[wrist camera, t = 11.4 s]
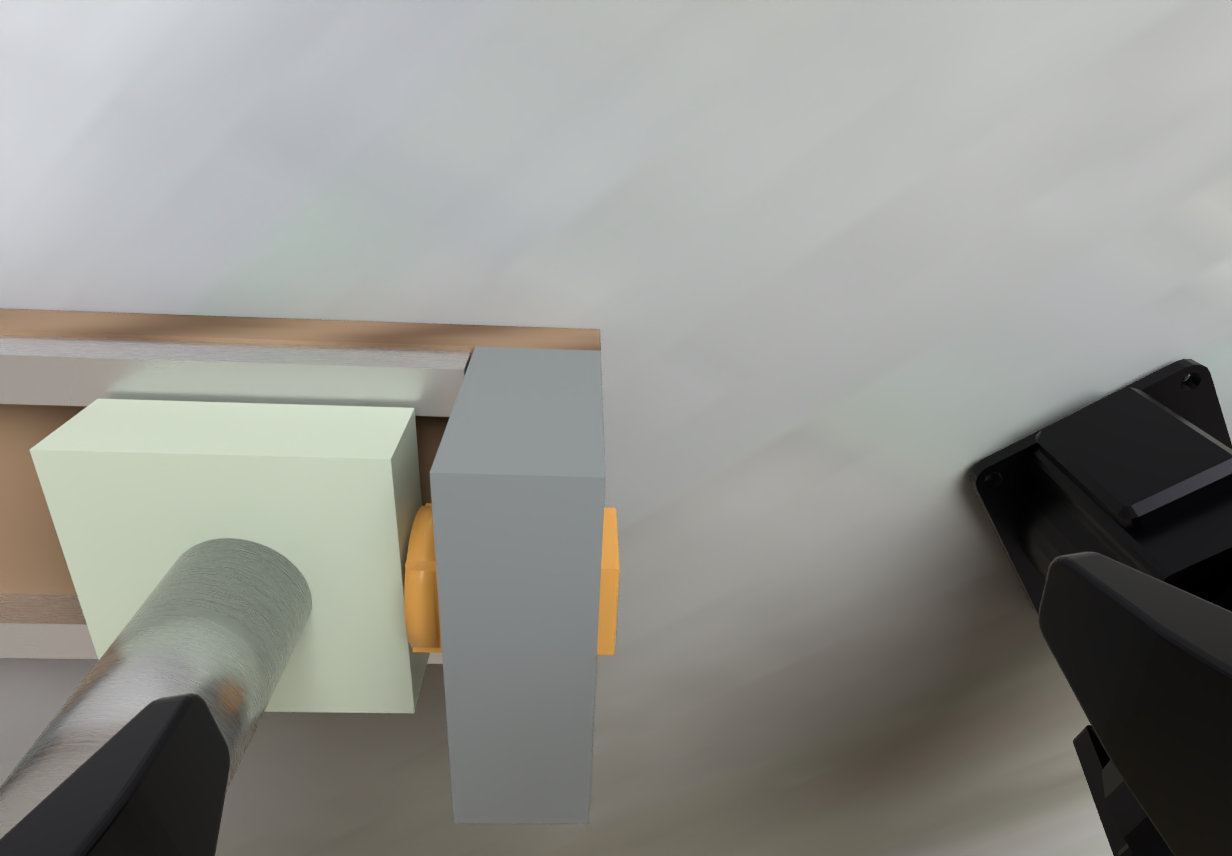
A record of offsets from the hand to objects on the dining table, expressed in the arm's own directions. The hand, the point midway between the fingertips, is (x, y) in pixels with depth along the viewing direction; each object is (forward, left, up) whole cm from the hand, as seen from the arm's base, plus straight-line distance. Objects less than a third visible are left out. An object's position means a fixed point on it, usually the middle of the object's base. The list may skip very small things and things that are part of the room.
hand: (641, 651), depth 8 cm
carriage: (0, +10, -10) cm, 14 cm away
